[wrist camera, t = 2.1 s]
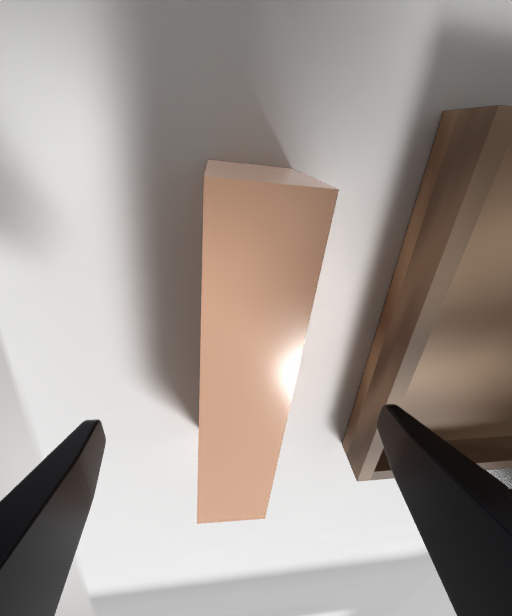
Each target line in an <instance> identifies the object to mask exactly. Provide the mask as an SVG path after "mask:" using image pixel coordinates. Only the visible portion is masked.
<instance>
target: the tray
mask: <svg viewBox="0 0 512 616" xmlns="http://www.w3.org/2000/svg"><path fill="white" fill-rule="evenodd" d="M385 404H396V405H398V406H399V407H400V408H402V409H403V410H404V411H406V412H407V413H409V414H410V415H411V416H413V417H414V418H415V419H417V420H418V421H419V422H421V423H422V424H423V425H425V426H426V427H428V428H429V429H430V430H432V431H433V432H434V433H436V434H437V435H438V436H440V437H441V438H442V439H444V440H445V441H447V442H448V443H449V444H451V445H452V446H453V447H455V448H456V449H457V450H459V451H460V452H461V453H463V454H464V455H465V456H467V457H468V458H470V459H471V460H472V461H474V462H475V463H476V464H478V465H479V466H480V467H482V468H483V469H484V470H493V469H505V468H512V106H502V105H496V106H486V107H477V108H467V109H457V110H447V111H443V114H442V117H441V120H440V124H439V127H438V130H437V133H436V137H435V140H434V143H433V147H432V150H431V153H430V156H429V160H428V163H427V166H426V170H425V173H424V176H423V180H422V183H421V186H420V189H419V193H418V196H417V199H416V203H415V206H414V209H413V212H412V216H411V219H410V222H409V226H408V229H407V232H406V235H405V239H404V242H403V245H402V249H401V252H400V255H399V258H398V262H397V265H396V268H395V272H394V275H393V278H392V282H391V285H390V288H389V291H388V295H387V298H386V301H385V305H384V308H383V311H382V314H381V318H380V321H379V324H378V328H377V331H376V334H375V337H374V341H373V344H372V347H371V351H370V354H369V357H368V360H367V364H366V367H365V370H364V374H363V377H362V380H361V384H360V387H359V390H358V393H357V397H356V400H355V403H354V407H353V410H352V413H351V416H350V420H349V423H348V426H347V430H346V433H345V436H344V439H343V443H342V446H343V448H344V451H345V453H346V455H347V458H348V460H349V463H350V465H351V468H352V470H353V473H354V475H355V477H356V480H357V481H367V480H379V479H390V478H395V477H394V475H393V472H392V470H391V467H390V464H389V461H388V458H387V456H386V453H385V450H384V447H383V444H382V441H381V438H380V435H379V432H378V429H377V419H378V416H379V413H380V410H381V408H382V406H383V405H385Z"/></svg>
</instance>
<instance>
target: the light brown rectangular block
mask: <svg viewBox="0 0 512 616" xmlns="http://www.w3.org/2000/svg"><path fill="white" fill-rule="evenodd" d="M338 191H339V189H337V188H334V187H332V186H330V185H328V184H326V183H323V182H321V181H319V180H317V179H314V178H312V177H310V176H308V175H305V174H303V173H301V172H299V171H296V170H294V169H292V168H283V167H273V166H264V165H255V164H246V163H236V162H227V161H218V160H208V162H207V166H206V169H205V173H204V189H203V241H202V293H201V344H200V396H199V448H198V500H197V524H199V523H212V522H225V521H239V520H252V519H265V516H266V511H267V507H268V502H269V498H270V493H271V489H272V484H273V480H274V475H275V471H276V467H277V462H278V458H279V453H280V449H281V444H282V440H283V435H284V431H285V427H286V422H287V418H288V413H289V409H290V404H291V400H292V395H293V391H294V386H295V382H296V378H297V373H298V369H299V364H300V360H301V355H302V351H303V346H304V342H305V337H306V333H307V329H308V324H309V320H310V315H311V311H312V306H313V302H314V297H315V293H316V288H317V284H318V280H319V275H320V271H321V266H322V262H323V257H324V253H325V248H326V244H327V239H328V235H329V231H330V226H331V222H332V217H333V213H334V208H335V204H336V199H337V195H338Z"/></svg>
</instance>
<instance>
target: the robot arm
mask: <svg viewBox="0 0 512 616" xmlns="http://www.w3.org/2000/svg"><path fill="white" fill-rule="evenodd" d="M377 429H378V432H379V435H380V438H381V441H382V444H383V447H384V450H385V453H386V456H387V458H388V461H389V464H390V467H391V470H392V472H393V475H394V477H395V480H396V482H397V484H398V486H399V488H400V491H401V493H402V495H403V497H404V500H405V502H406V504H407V506H408V508H409V511H410V513H411V515H412V517H413V519H414V522H415V524H416V526H417V528H418V530H419V533H420V535H421V537H422V539H423V541H424V544H425V546H426V548H427V550H428V552H429V555H430V557H431V559H432V561H433V564H434V566H435V568H436V570H437V572H438V575H439V577H440V579H441V581H442V583H443V586H444V588H445V590H446V592H447V594H448V597H449V599H450V601H451V603H452V605H453V608H454V610H455V612H456V614H457V616H512V489H509V488H508V487H507V486H506V485H505V484H503V483H502V482H501V481H499V480H498V479H497V478H495V477H494V476H493V475H491V474H490V473H489V472H487V471H486V470H484V469H483V468H482V467H480V466H479V465H478V464H476V463H475V462H474V461H472V460H471V459H470V458H468V457H467V456H465V455H464V454H463V453H461V452H460V451H459V450H457V449H456V448H455V447H453V446H452V445H451V444H449V443H448V442H447V441H445V440H444V439H442V438H441V437H440V436H438V435H437V434H436V433H434V432H433V431H432V430H430V429H429V428H428V427H426V426H425V425H423V424H422V423H421V422H419V421H418V420H417V419H415V418H414V417H413V416H411V415H410V414H409V413H407V412H406V411H404V410H403V409H402V408H400V407H399V406H398V405H396V404H385V405H383V406H382V408H381V410H380V413H379V416H378V419H377ZM105 443H106V438H105V434H104V430H103V427H102V423H101V421H100V420H86V421H84V422H82V423H81V424H80V425H79V426H78V427H77V428H76V429H75V430H74V431H73V432H72V433H71V434H70V435H69V436H68V437H67V438H66V439H65V440H64V441H63V442H62V443H61V444H60V445H59V446H57V447H56V448H55V449H54V450H53V451H52V452H51V453H50V454H49V455H48V456H47V457H46V458H45V459H44V460H43V461H42V462H41V463H40V464H39V465H38V466H37V467H36V468H35V469H34V470H33V471H32V472H30V473H29V475H27V476H26V478H24V479H23V480H22V481H21V482H20V483H19V484H18V485H17V486H16V487H15V488H14V489H13V490H12V491H11V492H10V493H9V494H8V495H7V496H6V497H5V498H4V499H3V500H1V501H0V616H54V615H55V612H56V609H57V606H58V603H59V600H60V597H61V594H62V591H63V588H64V585H65V582H66V579H67V576H68V573H69V570H70V567H71V564H72V561H73V558H74V555H75V552H76V549H77V546H78V543H79V540H80V537H81V534H82V531H83V528H84V525H85V522H86V519H87V516H88V513H89V510H90V507H91V504H92V501H93V497H94V493H95V489H96V485H97V480H98V476H99V471H100V467H101V462H102V457H103V453H104V448H105Z"/></svg>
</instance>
